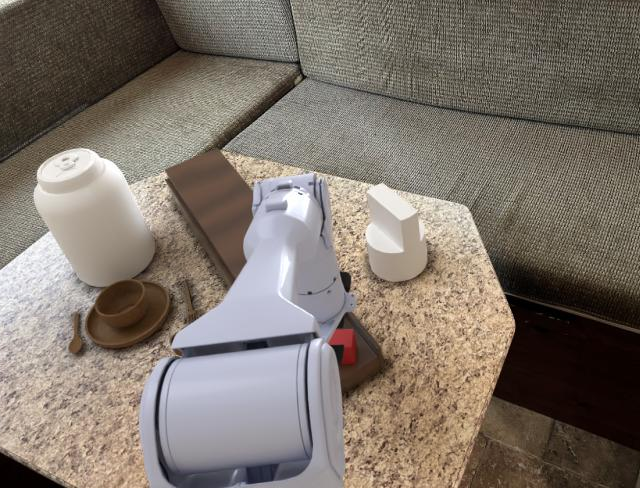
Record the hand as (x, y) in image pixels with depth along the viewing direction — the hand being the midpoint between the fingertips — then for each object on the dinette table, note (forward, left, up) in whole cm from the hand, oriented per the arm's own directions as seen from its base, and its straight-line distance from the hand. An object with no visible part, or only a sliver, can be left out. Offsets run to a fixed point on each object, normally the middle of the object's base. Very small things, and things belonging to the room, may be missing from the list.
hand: (331, 353), depth 70 cm
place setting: (-19, +26, -10) cm, 34 cm away
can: (-17, +44, -10) cm, 49 cm away
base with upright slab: (+19, +15, -10) cm, 26 cm away
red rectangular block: (+1, +4, -6) cm, 8 cm away
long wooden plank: (+1, +27, -9) cm, 29 cm away
